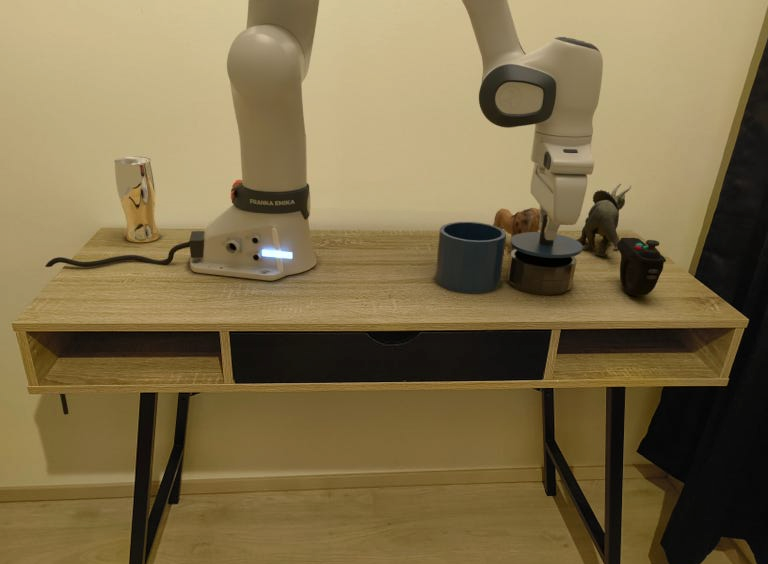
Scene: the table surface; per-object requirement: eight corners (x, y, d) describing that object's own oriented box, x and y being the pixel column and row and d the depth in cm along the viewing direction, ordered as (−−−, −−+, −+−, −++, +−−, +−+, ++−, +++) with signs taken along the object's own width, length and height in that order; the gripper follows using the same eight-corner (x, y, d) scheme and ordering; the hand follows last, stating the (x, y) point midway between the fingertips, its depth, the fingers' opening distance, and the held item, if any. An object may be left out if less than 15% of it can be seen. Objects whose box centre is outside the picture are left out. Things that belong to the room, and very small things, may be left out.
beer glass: (133, 231, 137) (123, 155, 130) (166, 233, 136) (158, 157, 129) (118, 242, 131) (106, 162, 124) (152, 244, 130) (142, 165, 123)
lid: (515, 260, 110) (520, 226, 108) (504, 237, 121) (508, 205, 118) (589, 262, 110) (596, 228, 108) (571, 239, 121) (577, 208, 118)
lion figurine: (544, 254, 132) (552, 209, 128) (525, 259, 130) (532, 212, 125) (492, 233, 143) (498, 191, 139) (473, 237, 140) (478, 194, 136)
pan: (512, 294, 114) (516, 266, 111) (502, 271, 123) (506, 245, 121) (578, 297, 114) (583, 269, 111) (563, 273, 123) (567, 247, 121)
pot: (438, 292, 114) (442, 240, 109) (433, 268, 123) (437, 220, 119) (503, 294, 114) (510, 243, 109) (494, 271, 123) (500, 222, 119)
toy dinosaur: (615, 270, 126) (628, 210, 120) (569, 263, 128) (579, 204, 123) (620, 236, 144) (631, 183, 139) (579, 231, 146) (588, 178, 141)
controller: (632, 305, 111) (646, 247, 106) (606, 278, 122) (618, 223, 117) (658, 306, 111) (673, 247, 107) (630, 278, 122) (642, 224, 117)
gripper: (528, 138, 117) (517, 217, 123) (554, 164, 99) (540, 254, 105) (564, 139, 117) (552, 218, 123) (598, 165, 99) (581, 256, 105)
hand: (547, 235), depth 114 cm, fingers closed on lid, 2 cm apart
